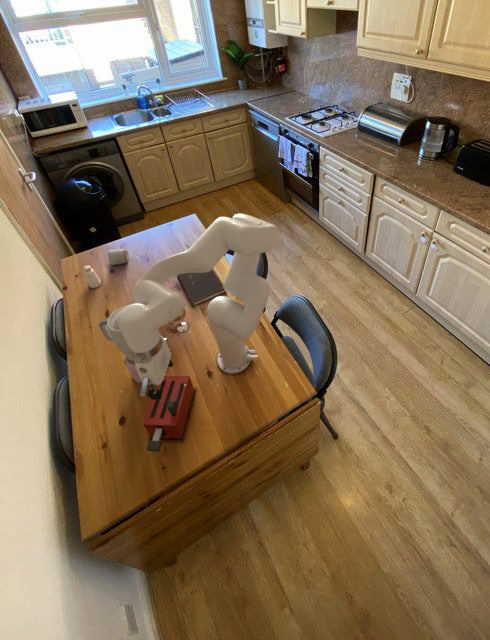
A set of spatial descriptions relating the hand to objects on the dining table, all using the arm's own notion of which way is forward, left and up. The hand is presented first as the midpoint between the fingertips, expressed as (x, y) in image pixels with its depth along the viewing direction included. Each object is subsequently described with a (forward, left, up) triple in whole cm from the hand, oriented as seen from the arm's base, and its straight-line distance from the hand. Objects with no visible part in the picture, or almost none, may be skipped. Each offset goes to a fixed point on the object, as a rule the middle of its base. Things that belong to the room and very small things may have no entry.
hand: (162, 381), depth 97 cm
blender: (+18, -17, -25) cm, 35 cm away
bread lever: (+3, +9, -17) cm, 19 cm away
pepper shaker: (+59, -61, -25) cm, 88 cm away
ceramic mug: (+54, -78, -25) cm, 98 cm away
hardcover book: (+8, -63, -25) cm, 68 cm away
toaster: (+3, -2, -25) cm, 25 cm away
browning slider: (-1, +2, -14) cm, 14 cm away
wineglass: (+10, -37, -25) cm, 46 cm away
